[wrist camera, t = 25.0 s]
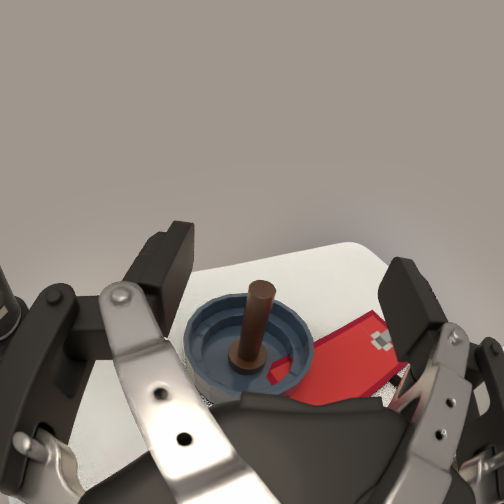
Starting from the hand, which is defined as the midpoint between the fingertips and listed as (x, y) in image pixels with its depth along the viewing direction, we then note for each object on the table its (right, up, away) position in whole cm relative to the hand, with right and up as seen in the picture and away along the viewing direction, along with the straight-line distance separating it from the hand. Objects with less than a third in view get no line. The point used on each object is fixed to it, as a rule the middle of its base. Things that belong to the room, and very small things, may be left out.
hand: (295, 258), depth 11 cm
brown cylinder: (-2, -13, +23) cm, 27 cm away
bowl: (-3, -14, +23) cm, 27 cm away
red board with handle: (+16, -16, +25) cm, 34 cm away
